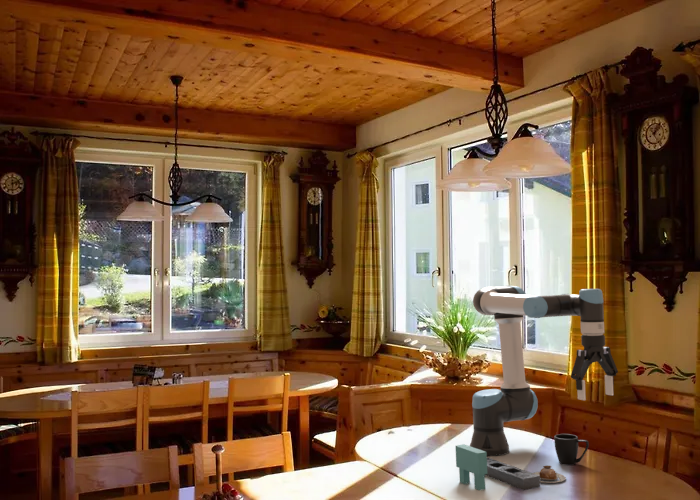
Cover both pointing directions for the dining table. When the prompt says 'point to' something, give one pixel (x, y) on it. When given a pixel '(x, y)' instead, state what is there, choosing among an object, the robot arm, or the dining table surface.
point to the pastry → (549, 475)
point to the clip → (471, 465)
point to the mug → (568, 448)
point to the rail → (512, 475)
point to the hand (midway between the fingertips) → (595, 397)
